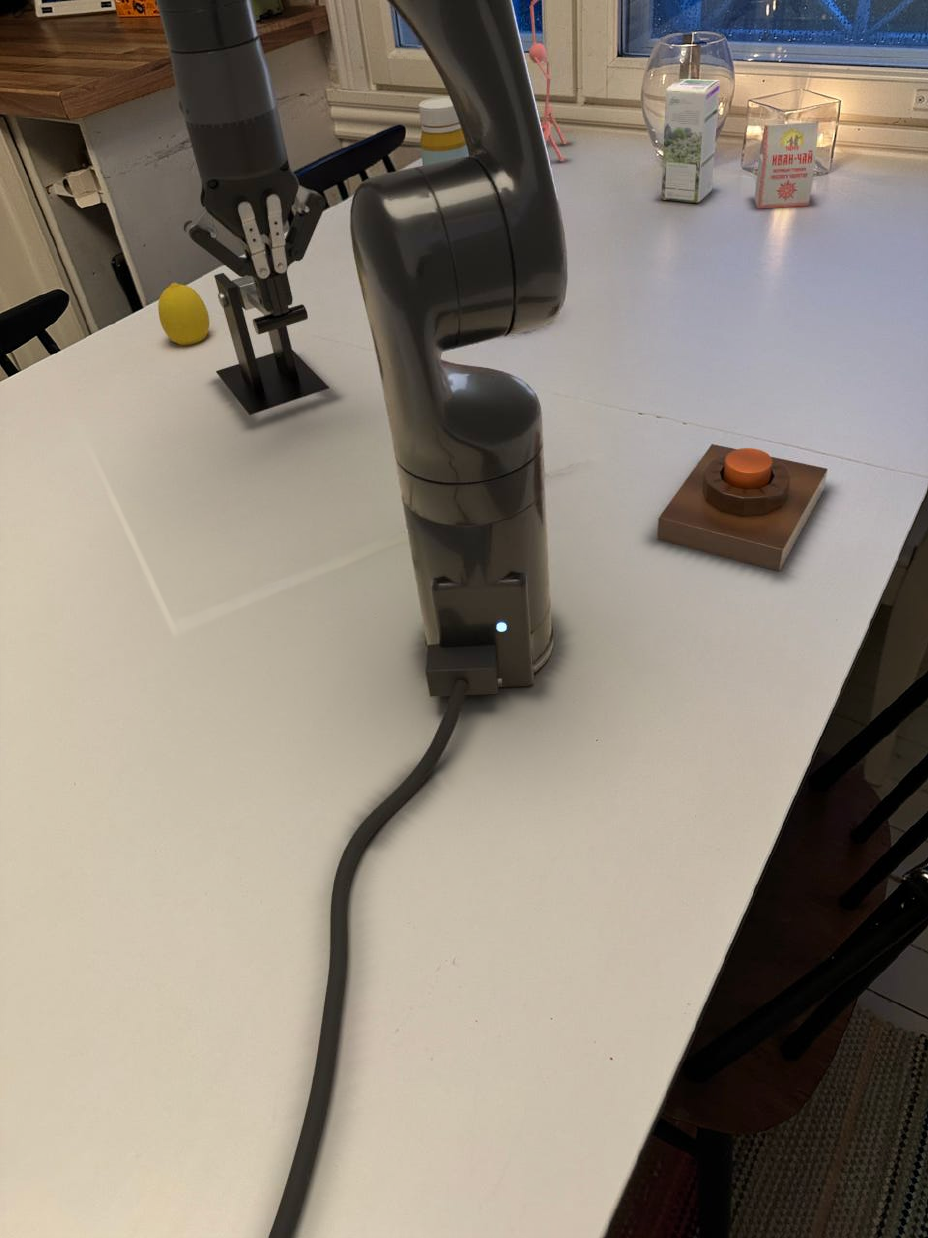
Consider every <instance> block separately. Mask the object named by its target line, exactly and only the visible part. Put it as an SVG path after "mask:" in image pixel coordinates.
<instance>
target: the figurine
mask: <svg viewBox="0 0 928 1238" xmlns="http://www.w3.org/2000/svg"><path fill="white" fill-rule="evenodd" d="M538 1H539V0H532V1H531V2H530V5H529V13H530V15H529V16H530V24H531V33H532V34H531V35H532V45H531V47H530V48H529V51H528V56H529V59H530V60H531V62H533V63H535V64H537V65H538V67H539V68H540V70H541V71H542V73H543V75H544V76H545V78H546V96H545V105H544V114H543V115H544V116H543V119H542V120H541V121H540V122H541V127H542V131H543V135H544V139H545V143H546V144H547V142H548V140H549V142H550V144H551V146H552V148H553V149H554V152H555V153H556V156H557V157H558V160H559V162H560V163H562V162H563V161H564V157H563V156H562V154H561V151H560V150H559V148H558V146H557V144H556V142H555V140H554V137H553V136H552V134H551V132H550V131H551V123H552V125H553V127H554V129H555V132H556V133H557V135H558V137H559V139H560V141H561V143H562V145H563V146H565V145H566V144H567V141H566V139H565V138H564V136H563V134H562V133H573V131H571V130H570V131H569V130H567V131H563V130H562V131H561V130H560V127H559V126H558V124H557V121H556V120H555V118H554V116H553V113H552V109H553V108H554V106H553V105H551V106H550V107H549V101H550V100H549V99H550V98H549V97H550V90H551V78H550V61H548V60H547V59H546V57H547V49H546V47H545V45H544V44H543V43H541V42H536V41H537V40H536V25H535V11H534V5H536V4H537V2H538ZM542 62H544V63H545V64H546V70H545V69H544V67H543V65H542V64H541V63H542ZM548 117H549V119H550V121H551V122H550V121H549V120H547V118H548Z"/></svg>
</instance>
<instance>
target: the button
mask: <svg viewBox="0 0 928 1238" xmlns="http://www.w3.org/2000/svg"><path fill="white" fill-rule="evenodd" d="M736 449H737V448H736ZM771 457H772V456H771ZM771 457H770V454H769V453H768V452H765V450H761V449H758V448H752V447H743V448H738V449H737V450H734V451H732V452H730V453H729V454H728V455H727V456H726V459H725V468H724V480H725V482H726V483H727V484H729V485H730V486H732V487H736V488H740V489H744V490H748V489H760V488H762V487H764V486H766V485H767V484H768V483H769V481H770V475H771V468H772V458H771Z"/></svg>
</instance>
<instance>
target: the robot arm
mask: <svg viewBox="0 0 928 1238" xmlns="http://www.w3.org/2000/svg"><path fill="white" fill-rule="evenodd" d="M386 1H387V2H388V3H389V5H390V6H392V8H393V9H394V11H395V12H396V13H397V14H398V16H399V17H400V18H401V20H402V21H403V22H404V23H405V25H406V26H407V27H408V28H409V30H410V31H411V32H412V33H413V35H414V36H415V38H416V40H417V41H418V42H419V44H420V45H421V47H422V48H423V50H424V51H425V53H426V55H427V56H428V58H429V59H430V61H431V63H432V64H433V66H434V68H435V70H436V71H437V74H438V75H439V77H440V80H441V81H442V84H443V86H444V87H445V90H446V92H447V95H448V96H450V99H451V101H452V104H453V106H454V109H455V112H456V114H457V117H458V120H459V123H460V126H461V128H462V131H463V135H464V138H465V142H466V145H467V148H468V153H469V157H462V158H457V159H453V160H448V161H443V162H438V163H433V164H429V165H424V166H423V165H419V166H415V167H410V168H405V169H401V170H396V171H391V172H386V173H382V174H379V175H375V176H372V177H368V178H366V179H365V180H363V181H362V182H361V183H360V184H359V185H358V186H357V188H356V189H355V191H354V194H353V196H352V199H351V205H350V211H349V213H350V215H349V229H350V238H351V248H352V253H353V258H354V264H355V268H356V273H357V278H358V283H359V287H360V291H361V296H362V300H363V305H364V308H365V312H366V317H367V321H368V326H369V329H370V333H371V337H372V338H371V339H372V342H373V346H374V347H373V348H374V351H375V355H376V361H377V365H378V370H379V376H380V382H381V387H382V392H383V398H384V404H385V409H386V414H387V418H388V425H389V430H390V435H391V442H392V448H393V455H394V459H395V465H396V471H397V477H398V482H399V489H400V495H401V502H402V507H403V512H404V520H405V525H406V530H407V531H406V532H407V536H408V543H409V548H410V554H411V555H410V556H411V560H412V565H413V572H414V578H415V584H416V589H417V595H418V600H419V606H420V607H419V608H420V613H421V617H422V623H423V629H424V635H425V636H424V637H425V638H424V639H425V640H424V642H425V643H424V644H425V649H426V661H425V676H426V682H427V687H428V694H429V697H430V698H435V697H448V700H447V704H446V706H445V710H444V713H443V715H442V718H441V721H440V722H439V725H438V727H437V729H436V731H435V734H434V736H433V738H432V741H431V742H430V743H429V746H428V748H427V750H426V751H425V753H424V755H423V756H422V757H421V759H420V761H419V762H418V763H417V765H416V766H415V768H414V769H413V770H412V771H411V773H410V774H409V775H408V776H407V778H405V780H404V781H402V783H401V784H400V785H399V786H398V787H397V788H396V789H395V790H394V791H393V792H391V794H389V795H388V796H387V797H386V798H385V799H384V800H383V801H382V802H381V803H380V804H379V805H378V806H376V808H374V810H373V811H371V812H370V814H369V815H367V816H366V818H365V819H364V820H363V821H362V822H361V824H360V825H359V826H358V827H357V829H356V830H355V831H354V833H353V834H352V836H351V838H350V839H349V841H348V842H347V844H346V846H345V849H344V850H343V852H342V855H341V857H340V860H339V862H338V865H337V869H336V871H335V876H334V880H333V885H332V892H331V897H330V898H331V899H330V916H329V917H330V919H329V920H330V921H329V922H330V923H329V929H330V930H329V932H330V933H329V964H328V966H329V967H328V974H327V983H326V989H325V994H324V1002H323V1010H322V1017H321V1023H320V1024H321V1025H320V1031H319V1038H318V1046H317V1051H316V1052H317V1053H316V1059H315V1065H314V1071H313V1077H312V1082H311V1087H310V1090H309V1091H310V1092H309V1096H308V1101H307V1105H306V1109H305V1113H304V1117H303V1122H302V1125H301V1130H300V1134H299V1137H298V1140H297V1144H296V1148H295V1152H294V1155H293V1159H292V1164H291V1165H290V1170H289V1173H288V1177H287V1180H286V1182H285V1183H286V1184H285V1186H284V1190H283V1193H282V1196H281V1199H280V1203H279V1206H278V1209H277V1212H276V1215H275V1217H274V1221H273V1223H272V1225H271V1228H270V1231H269V1234H268V1237H267V1238H291V1237H292V1234H293V1232H294V1228H295V1226H296V1223H297V1219H298V1216H299V1214H300V1210H301V1207H302V1203H303V1200H304V1197H305V1193H306V1190H307V1186H308V1183H309V1179H310V1175H311V1172H312V1168H313V1164H314V1160H315V1156H316V1153H317V1149H318V1146H319V1145H318V1144H319V1141H320V1136H321V1133H322V1130H323V1129H322V1128H323V1124H324V1120H325V1115H326V1111H327V1106H328V1102H329V1097H330V1092H331V1086H332V1080H333V1076H334V1075H333V1074H334V1068H335V1060H336V1055H337V1049H338V1038H339V1033H340V1024H341V1023H340V1022H341V1015H342V1008H343V998H344V991H345V983H346V976H347V964H348V901H349V900H348V899H349V898H348V897H349V892H350V885H351V880H352V877H353V872H354V870H355V868H356V865H357V863H358V860H359V858H360V856H361V854H362V852H363V850H364V848H365V847H366V845H367V843H368V842H369V841H370V839H371V838H372V837H373V835H374V834H375V833H376V832H377V831H378V829H379V828H380V827H381V826H382V825H383V824H384V823H385V822H386V821H387V820H388V819H389V818H390V817H391V816H392V815H393V814H394V813H395V812H396V811H398V809H399V808H401V806H403V805H404V804H405V803H406V802H407V801H408V800H409V799H410V798H411V797H412V795H414V793H415V792H416V791H417V790H418V789H419V788H420V787H421V786H422V785H423V783H424V782H425V781H426V779H427V778H428V776H429V775H430V774H431V772H432V771H433V770H434V768H435V766H436V765H437V764H438V762H439V760H440V759H441V757H442V755H443V754H444V751H445V750H446V748H447V745H448V744H449V742H450V739H451V737H452V735H453V732H454V730H455V727H456V725H457V722H458V720H459V716H460V714H461V711H462V707H463V704H464V700H465V698H466V696H474V695H477V696H478V695H497V694H498V692H499V688H507V687H508V688H509V687H529V686H532V685H533V684H534V676H535V673H536V672H538V671H539V670H540V669H541V668H542V667H543V666H544V665H545V664H546V662H547V661H548V659H550V656H551V654H552V651H553V648H554V626H553V623H552V609H551V608H552V607H551V590H550V586H551V585H550V570H549V569H550V568H549V565H550V563H549V546H548V544H549V543H548V521H547V502H546V501H547V499H546V497H547V496H546V472H545V471H546V469H545V449H544V428H543V427H544V426H543V425H544V424H543V411H542V406H541V403H540V399H539V397H538V395H537V393H536V392H535V390H534V389H533V388H532V387H531V386H530V385H529V384H528V383H526V382H525V381H524V380H523V379H521V378H519V377H518V376H515V375H513V374H511V373H508V372H505V371H503V370H498V369H495V368H491V367H483V366H476V365H469V364H461V363H455V362H450V361H447V360H445V359H441V358H442V354H443V353H444V352H447V351H451V350H456V349H461V348H464V347H465V348H466V347H469V346H472V345H476V344H481V343H485V342H488V341H493V340H497V339H500V338H505V337H508V336H512V335H516V334H520V333H524V332H528V331H532V330H536V329H539V328H541V327H544V326H546V325H548V324H550V323H552V322H553V321H554V320H555V319H557V317H558V315H559V314H560V312H561V310H562V308H563V307H564V303H565V300H566V297H567V296H566V294H567V289H568V288H567V287H568V279H569V278H568V277H569V275H568V251H567V242H566V234H565V233H566V232H565V227H564V222H563V216H562V210H561V206H560V201H559V196H558V192H557V188H556V183H555V178H554V174H553V169H552V165H551V160H550V156H549V151H548V149H547V143H545V139H544V135H543V131H542V127H541V122H542V121H541V118H540V115H539V111H538V106H537V102H536V98H535V93H534V89H533V85H532V82H531V77H530V72H529V69H528V65H527V61H526V55H525V52H524V48H523V43H522V39H521V35H520V31H519V27H518V25H519V24H518V22H517V16H516V11H515V7H514V2H513V0H386ZM155 3H156V6H157V9H158V13H159V17H160V20H161V25H162V29H163V32H164V36H165V39H166V44H167V47H168V50H169V55H170V59H171V66H172V73H173V81H174V84H175V88H176V92H177V96H178V100H177V101H178V105H179V110H180V112H181V113H182V115H183V118H184V121H185V127H186V130H187V133H188V137H189V141H190V145H191V148H192V151H193V155H194V158H195V162H196V166H197V167H196V168H197V169H198V174H199V177H200V181H201V192H200V197H199V199H200V205H201V206H202V207H201V208H200V210H199V211H198V212H197V214H196V216H195V217H194V218H193V220H187V221H186V222H184V224H183V231H184V233H185V234H186V235H187V236H188V237H189V238H190V239H191V241H193V242H194V243H196V244H197V245H198V246H199V247H200V248H201V249H203V250H205V251H206V252H207V253H209V254H210V255H211V256H212V257H214V259H216V260H218V261H219V262H220V263H222V264H223V265H224V266H225V267H227V268H228V269H229V270H231V271H232V272H233V273H234V274H235V275H237V276H238V277H239V278H242V277H245V276H252V277H253V280H254V284H255V288H256V292H257V296H258V300H259V303H260V304H261V306H262V307H263V308H264V309H265V310H266V311H267V312H270V313H271V314H272V315H273V316H274V317H275V316H278V315H281V314H284V313H287V312H289V308H290V307H289V306H292V305H293V299H294V297H293V294H292V289H291V285H290V280H289V276H288V269H289V267H290V265H293V263H295V262H300V261H302V260H303V259H304V257H305V255H306V253H307V250H308V248H309V245H310V243H311V240H312V238H313V236H314V233H315V231H316V229H317V227H318V224H319V222H320V219H321V217H322V214H323V212H324V210H325V207H326V205H327V201H326V198H325V197H324V196H323V195H322V194H320V193H318V192H317V191H315V190H314V189H311V188H307V187H304V186H302V185H301V184H300V182H299V179H298V176H297V175H296V174H295V173H294V171H293V170H292V168H291V166H290V163H289V157H288V152H287V147H286V142H285V137H284V133H283V128H282V124H281V123H282V122H281V119H280V114H279V109H278V103H277V99H276V95H275V94H276V93H275V89H274V85H273V80H272V76H271V72H270V68H269V67H270V66H269V64H268V61H267V57H266V55H265V52H264V49H263V45H262V43H261V38H260V36H259V30H258V25H257V24H258V23H257V20H256V14H255V10H254V5H253V1H252V0H155ZM293 207H294V209H295V214H294V216H293V219H292V222H291V223H290V225H289V228H288V230H287V233H286V235H285V230H284V229H285V228H284V226H285V225H286V223H287V221H288V219H289V215H290V213H291V211H292V208H293ZM214 219H215V220H216V221H217V222H218V223H219V224H221V226H223V227H224V228H225V229H226V230H227V231H229V233H231V234H232V235H233V236H234V237H235V238H237V239H238V241H239V244H240V246H241V248H242V251H243V254H244V256H238V255H237V254H236V253H234V251H232V250H231V249H229V248H228V247H227V246H226V245H224V244H223V243H222V242H221V241H219V240H218V239H217V238H218V235H219V231H218V229H217V228H216V226H215V225H214Z"/></svg>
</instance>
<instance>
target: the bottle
mask: <svg viewBox="0 0 928 1238" xmlns="http://www.w3.org/2000/svg"><path fill="white" fill-rule="evenodd" d="M418 111H419V112H418V113H419V121H420V123H421V124H420V127H421V135H420V141H419V144H420V145H419V146H420V153H421V162H422V166H424V165H429V164H433V163H438V162H443V161H448V160H453V159H457V158H462V157H469V153H468V148H467V145H466V142H465V138H464V135H463V131H462V128H461V126H460V123H459V120H458V117H457V114H456V112H455V109H454V106H453V104H452V101H451V99H450V96H449V95H445V96H437V97H432V98H427V99H425V100H423V101H421V102H419V104H418Z"/></svg>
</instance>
